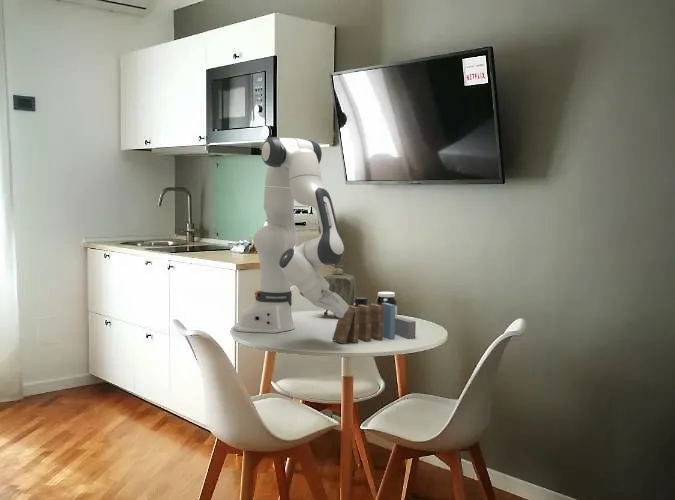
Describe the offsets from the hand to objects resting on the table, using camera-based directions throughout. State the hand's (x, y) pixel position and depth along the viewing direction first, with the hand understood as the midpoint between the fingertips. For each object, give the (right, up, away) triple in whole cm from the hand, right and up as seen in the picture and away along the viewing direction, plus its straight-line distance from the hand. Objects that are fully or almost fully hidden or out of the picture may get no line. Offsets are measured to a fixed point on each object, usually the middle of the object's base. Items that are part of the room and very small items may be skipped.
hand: (341, 316), depth 231 cm
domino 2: (+4, -9, +3) cm, 10 cm away
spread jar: (+16, -6, +43) cm, 46 cm away
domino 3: (+8, -9, +5) cm, 13 cm away
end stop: (+23, -8, +13) cm, 28 cm away
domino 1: (-1, -9, 0) cm, 9 cm away
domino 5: (+17, -9, +10) cm, 21 cm away
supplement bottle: (+7, -8, +24) cm, 26 cm away
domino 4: (+12, -9, +8) cm, 17 cm away
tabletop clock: (-1, -6, +49) cm, 50 cm away
